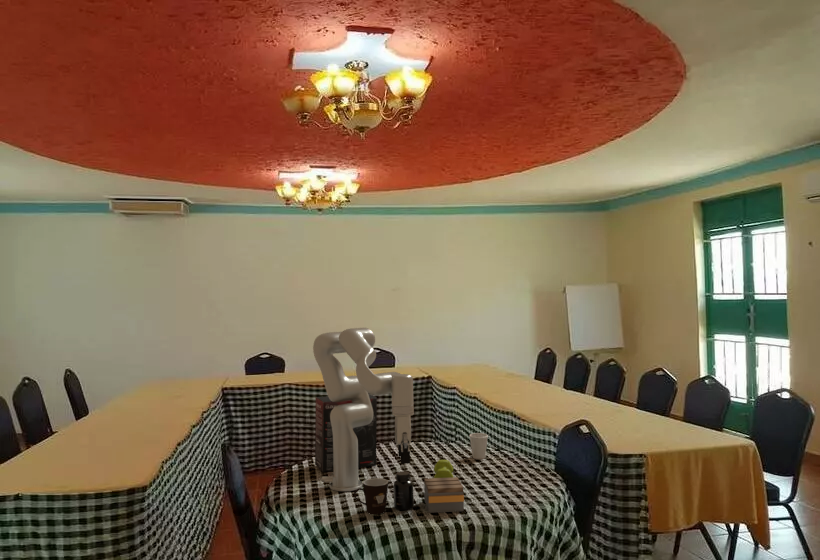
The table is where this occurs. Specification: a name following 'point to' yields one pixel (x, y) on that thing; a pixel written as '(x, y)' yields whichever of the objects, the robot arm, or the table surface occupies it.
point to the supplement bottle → (403, 491)
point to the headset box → (325, 435)
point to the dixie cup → (478, 445)
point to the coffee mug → (374, 495)
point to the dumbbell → (443, 469)
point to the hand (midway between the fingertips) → (404, 459)
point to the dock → (444, 501)
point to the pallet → (443, 485)
